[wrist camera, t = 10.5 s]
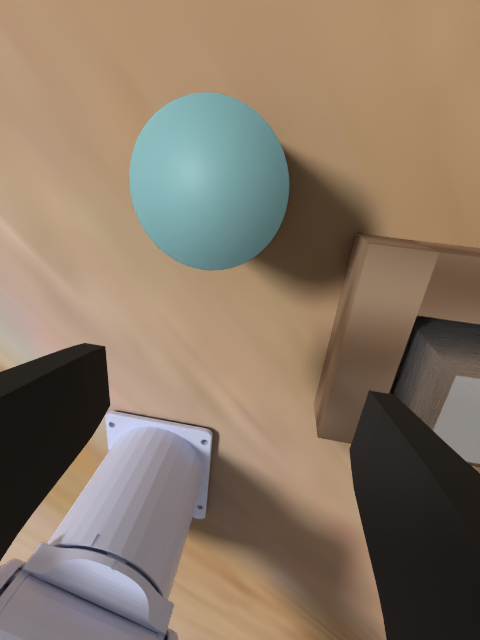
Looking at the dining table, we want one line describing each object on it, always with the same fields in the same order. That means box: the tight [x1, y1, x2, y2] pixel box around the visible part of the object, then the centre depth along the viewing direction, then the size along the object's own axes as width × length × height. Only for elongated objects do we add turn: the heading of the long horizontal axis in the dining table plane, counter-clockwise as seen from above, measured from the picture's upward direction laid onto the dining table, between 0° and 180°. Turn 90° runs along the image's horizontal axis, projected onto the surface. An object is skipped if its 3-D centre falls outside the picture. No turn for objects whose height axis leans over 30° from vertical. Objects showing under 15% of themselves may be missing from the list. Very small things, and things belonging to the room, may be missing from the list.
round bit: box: [129, 93, 290, 270], centre depth 14 cm, size 6×6×6 cm
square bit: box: [391, 317, 480, 464], centre depth 15 cm, size 4×4×6 cm
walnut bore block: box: [314, 234, 480, 467], centre depth 17 cm, size 11×11×3 cm
